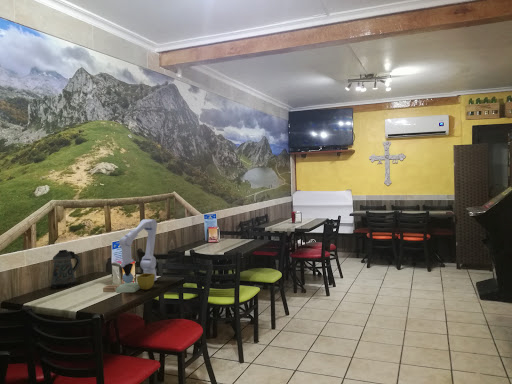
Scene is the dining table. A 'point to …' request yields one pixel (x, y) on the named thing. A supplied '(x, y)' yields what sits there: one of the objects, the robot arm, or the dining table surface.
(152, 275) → the flower pot
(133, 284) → the grey-green flat piece
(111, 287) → the stand
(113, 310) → the dining table surface
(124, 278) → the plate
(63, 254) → the beer stein
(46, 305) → the dining table surface
